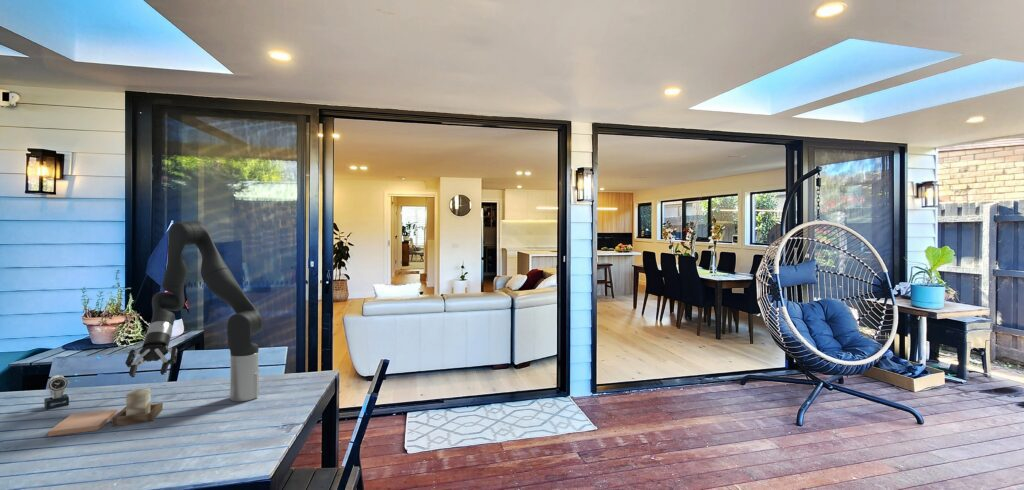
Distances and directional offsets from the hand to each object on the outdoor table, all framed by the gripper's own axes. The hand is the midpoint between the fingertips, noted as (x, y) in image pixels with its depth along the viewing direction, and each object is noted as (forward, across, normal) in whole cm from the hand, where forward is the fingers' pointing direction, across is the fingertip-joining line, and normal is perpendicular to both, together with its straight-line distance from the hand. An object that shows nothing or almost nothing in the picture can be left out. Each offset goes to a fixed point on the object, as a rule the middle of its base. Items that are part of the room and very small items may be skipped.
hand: (147, 375), depth 155 cm
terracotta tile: (+14, -14, +3) cm, 20 cm away
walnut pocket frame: (+14, 0, +3) cm, 15 cm away
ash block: (+14, 0, +3) cm, 15 cm away
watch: (-1, -30, +18) cm, 35 cm away
